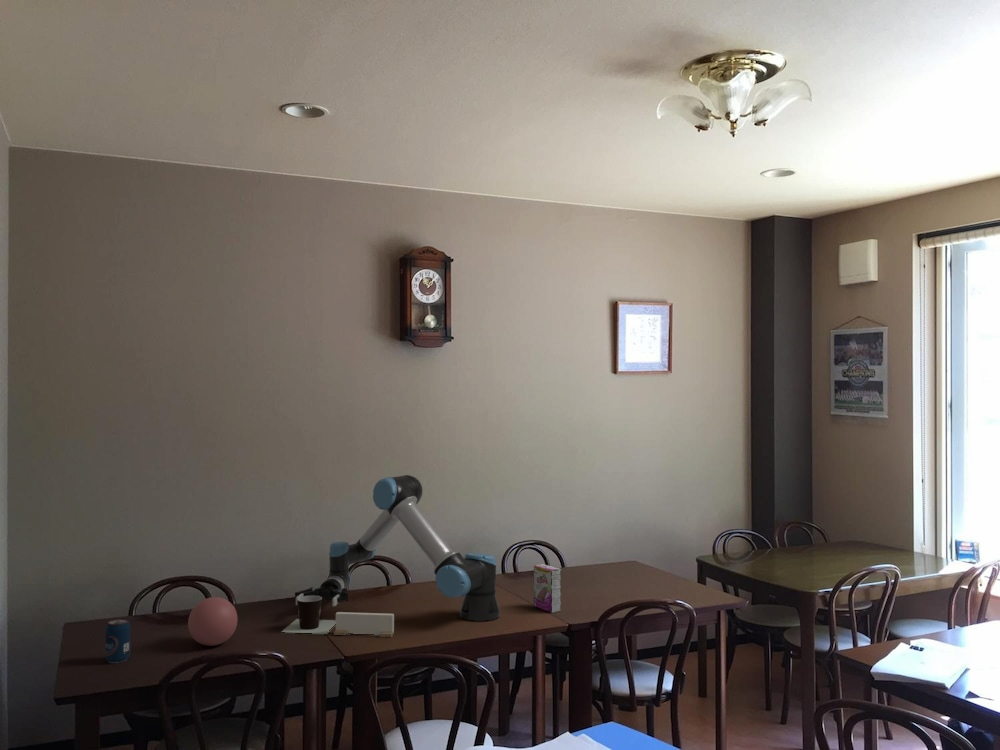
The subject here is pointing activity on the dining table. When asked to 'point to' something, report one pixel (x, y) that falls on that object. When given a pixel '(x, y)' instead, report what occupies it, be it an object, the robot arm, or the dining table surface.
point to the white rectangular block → (364, 623)
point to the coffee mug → (309, 611)
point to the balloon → (212, 621)
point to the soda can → (117, 641)
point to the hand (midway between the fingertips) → (315, 602)
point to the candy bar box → (547, 588)
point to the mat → (322, 629)
